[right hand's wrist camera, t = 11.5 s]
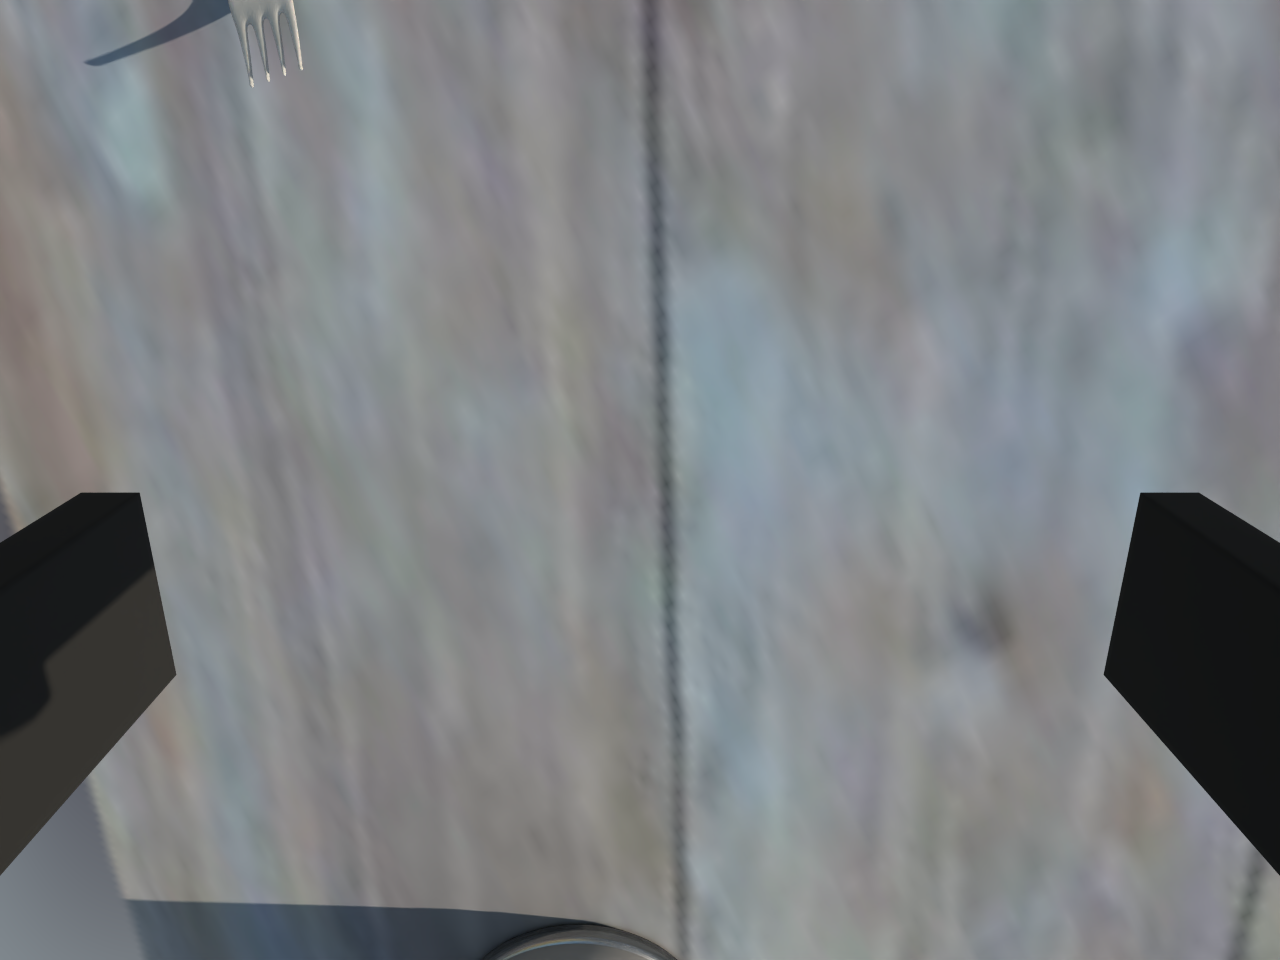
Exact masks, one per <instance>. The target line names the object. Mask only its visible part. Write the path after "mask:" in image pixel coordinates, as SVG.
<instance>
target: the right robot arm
mask: <svg viewBox="0 0 1280 960" xmlns="http://www.w3.org/2000/svg"><path fill="white" fill-rule="evenodd" d="M175 676H176V671H175V666H174V661H173V656H172V651H171V646H170V641H169V636H168V631H167V626H166V621H165V616H164V611H163V606H162V601H161V596H160V592H159V587H158V582H157V577H156V572H155V567H154V562H153V557H152V552H151V547H150V542H149V537H148V532H147V527H146V522H145V517H144V512H143V507H142V502H141V497H140V493H80V494H78V495H77V496H75V497H73V498H72V499H70V500H69V501H67V502H65V503H64V504H62V505H61V506H59V507H57V508H56V509H54V510H52V511H51V512H49V513H48V514H46V515H44V516H43V517H41V518H40V519H38V520H36V521H35V522H33V523H32V524H30V525H28V526H27V527H25V528H23V529H22V530H20V531H19V532H17V533H15V534H14V535H12V536H11V537H9V538H7V539H6V540H4V541H2V542H1V543H0V875H1V874H2V873H3V872H4V871H5V869H6V868H7V867H8V866H9V865H10V864H11V863H12V861H13V860H14V859H15V858H16V857H17V856H18V855H19V853H20V852H21V851H22V850H23V849H24V848H25V847H26V845H27V844H28V843H29V842H30V841H31V840H32V839H33V837H34V836H35V835H36V834H37V833H38V832H39V831H40V829H41V828H42V827H43V826H44V825H45V824H46V823H47V822H48V820H49V819H50V818H51V817H52V816H53V815H54V814H55V812H56V811H57V810H58V809H59V808H60V807H61V806H62V804H63V803H64V802H65V801H66V800H67V799H68V798H69V796H70V795H71V794H72V793H73V792H74V791H75V790H76V788H77V787H78V786H79V785H80V784H81V783H82V782H83V781H84V779H85V778H86V777H87V776H88V775H89V774H90V773H91V771H92V770H93V769H94V768H95V767H96V766H97V765H98V763H99V762H100V761H101V760H102V759H103V758H104V757H105V755H106V754H107V753H108V752H109V751H110V750H111V749H112V747H113V746H114V745H115V744H116V743H117V742H118V741H119V739H120V738H121V737H122V736H123V735H124V734H125V733H126V731H127V730H128V729H129V728H130V727H131V726H132V725H133V724H134V722H135V721H136V720H137V719H138V718H139V717H140V716H141V714H142V713H143V712H144V711H145V710H146V709H147V708H148V706H149V705H150V704H151V703H152V702H153V701H154V700H155V698H156V697H157V696H158V695H159V694H160V693H161V692H162V690H163V689H164V688H165V687H166V686H167V685H168V684H169V682H170V681H171V680H172V679H173V678H174V677H175ZM1104 676H1105V677H1106V678H1107V679H1108V680H1109V681H1110V682H1111V684H1112V685H1113V686H1114V687H1115V688H1116V689H1117V690H1118V692H1119V693H1120V694H1121V695H1122V696H1123V697H1124V698H1125V700H1126V701H1127V702H1128V703H1129V704H1130V705H1131V706H1132V708H1133V709H1134V710H1135V711H1136V712H1137V713H1138V714H1139V716H1140V717H1141V718H1142V719H1143V720H1144V721H1145V722H1146V724H1147V725H1148V726H1149V727H1150V728H1151V729H1152V730H1153V731H1154V733H1155V734H1156V735H1157V736H1158V737H1159V738H1160V739H1161V741H1162V742H1163V743H1164V744H1165V745H1166V746H1167V747H1168V749H1169V750H1170V751H1171V752H1172V753H1173V754H1174V755H1175V757H1176V758H1177V759H1178V760H1179V761H1180V762H1181V763H1182V765H1183V766H1184V767H1185V768H1186V769H1187V770H1188V771H1189V773H1190V774H1191V775H1192V776H1193V777H1194V778H1195V779H1196V781H1197V782H1198V783H1199V784H1200V785H1201V786H1202V787H1203V788H1204V790H1205V791H1206V792H1207V793H1208V794H1209V795H1210V796H1211V798H1212V799H1213V800H1214V801H1215V802H1216V803H1217V804H1218V806H1219V807H1220V808H1221V809H1222V810H1223V811H1224V812H1225V814H1226V815H1227V816H1228V817H1229V818H1230V819H1231V820H1232V822H1233V823H1234V824H1235V825H1236V826H1237V827H1238V828H1239V830H1240V831H1241V832H1242V833H1243V834H1244V835H1245V836H1246V838H1247V839H1248V840H1249V841H1250V842H1251V843H1252V844H1253V845H1254V847H1255V848H1256V849H1257V850H1258V851H1259V852H1260V853H1261V855H1262V856H1263V857H1264V858H1265V859H1266V860H1267V861H1268V863H1269V864H1270V865H1271V866H1272V867H1273V868H1274V869H1275V871H1276V872H1277V873H1278V874H1279V875H1280V543H1279V542H1278V541H1276V540H1274V539H1273V538H1271V537H1269V536H1268V535H1266V534H1265V533H1263V532H1261V531H1260V530H1258V529H1257V528H1255V527H1253V526H1252V525H1250V524H1248V523H1247V522H1245V521H1244V520H1242V519H1240V518H1239V517H1237V516H1236V515H1234V514H1232V513H1231V512H1229V511H1228V510H1226V509H1224V508H1223V507H1221V506H1219V505H1218V504H1216V503H1215V502H1213V501H1211V500H1210V499H1208V498H1207V497H1205V496H1203V495H1202V494H1200V493H1140V497H1139V502H1138V507H1137V512H1136V517H1135V522H1134V527H1133V532H1132V537H1131V542H1130V547H1129V552H1128V557H1127V562H1126V567H1125V572H1124V577H1123V582H1122V587H1121V592H1120V596H1119V601H1118V606H1117V611H1116V616H1115V621H1114V626H1113V631H1112V636H1111V641H1110V646H1109V651H1108V656H1107V661H1106V666H1105V671H1104ZM482 960H677V959H676V958H675V957H673V956H672V955H671V954H669V953H668V952H667V951H665V950H664V949H662V948H661V947H659V946H658V945H656V944H654V943H652V942H650V941H649V940H647V939H644V938H642V937H640V936H637V935H635V934H632V933H629V932H626V931H622V930H618V929H614V928H609V927H603V926H595V925H561V926H554V927H547V928H543V929H538V930H535V931H532V932H528V933H525V934H523V935H520V936H518V937H515V938H513V939H511V940H509V941H507V942H505V943H503V944H502V945H500V946H498V947H497V948H495V949H494V950H493V951H491V952H490V953H489V954H487V955H486V956H485V957H484V958H483V959H482Z"/></svg>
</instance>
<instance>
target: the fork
mask: <svg viewBox="0 0 1280 960" xmlns="http://www.w3.org/2000/svg"><path fill="white" fill-rule="evenodd" d="M228 3H229V7H230V11H231V14H232V17H233V20H234V23H235V26H236V28H237V32H238V35H239V39H240V43H241V47H242V51H243V55H244V59H245V63H246V67H247V71H248V76H249V81H250V86H251V87H254V85H253V76H252V66H251V57H250V49H249V42H248V35H247V26H248V25H249V24H251V25H252V26H253V28H254V30H255V33H256V37H257V41H258V45H259V49H260V53H261V57H262V61H263V65H264V69H265V73H266V78H267V80H268V81H270V78H269V68H268V59H267V51H266V43H265V36H264V29H263V21H264V19H265V18H267V19H268V20H269V22H270V24H271V27H272V31H273V35H274V38H275V42H276V46H277V50H278V54H279V58H280V62H281V66H282V71H283V74H284V76H286V69H285V60H284V51H283V44H282V36H281V30H280V22H279V16H280V14H281V13H284V14H285V16H286V18H287V21H288V24H289V28H290V32H291V36H292V40H293V43H294V47H295V51H296V55H297V59H298V64H299V69H300V70H303V68H302V60H301V52H300V44H299V36H298V29H297V23H296V17H295V11H294V5H293V0H228Z"/></svg>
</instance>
